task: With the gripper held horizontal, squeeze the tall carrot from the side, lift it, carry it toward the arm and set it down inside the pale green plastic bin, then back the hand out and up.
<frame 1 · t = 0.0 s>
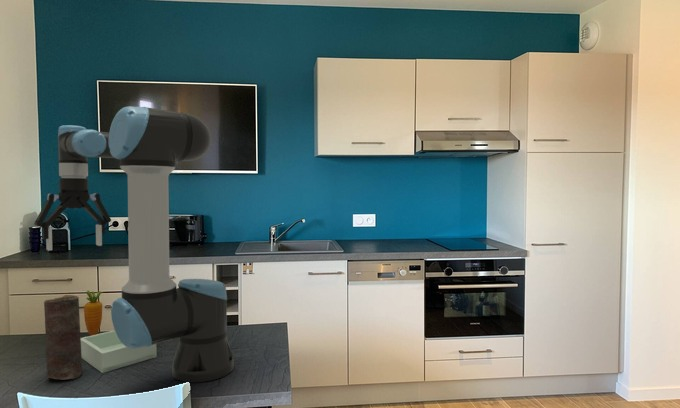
hand: (75, 247, 134), 28 cm above the table, tool pointing down, fingers open, 13 cm apart
bin: (117, 356, 121), on the table
candle: (64, 377, 109), on the table
carrot: (93, 339, 135), on the table
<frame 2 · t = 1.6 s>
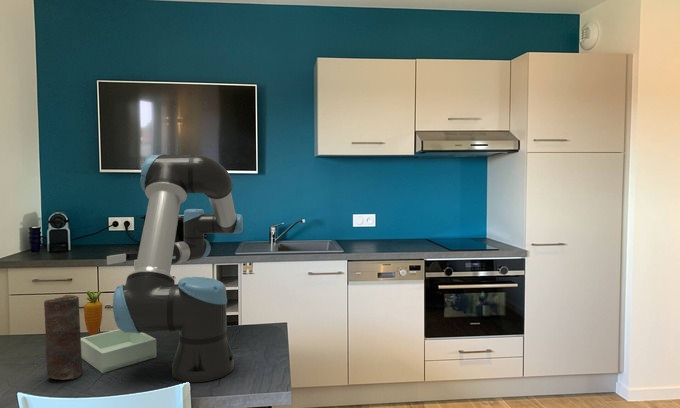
hand: (120, 262, 143), 22 cm above the table, tool horizontal, fingers open, 13 cm apart
nothing on the table moved.
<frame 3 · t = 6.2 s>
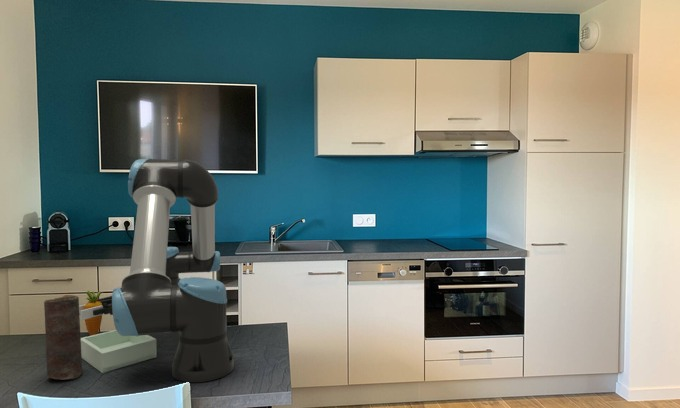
hand: (75, 314, 130), 9 cm above the table, tool horizontal, fingers closed on carrot, 5 cm apart
carrot: (93, 339, 135), on the table, touching gripper
everything else where it was.
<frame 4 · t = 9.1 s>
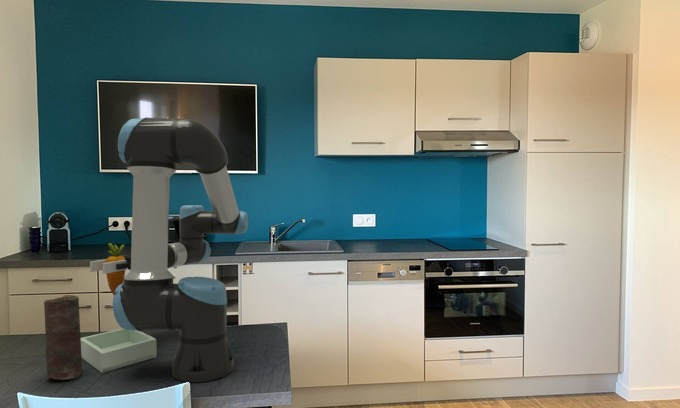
hand: (97, 267, 118), 25 cm above the table, tool horizontal, fingers closed on carrot, 5 cm apart
carrot: (116, 297, 123), point 16 cm above the table, touching gripper
everything else where it was.
when the fingers open (11 cm above the table, at t = 12.2 s): carrot drops 1 cm, resting on bin.
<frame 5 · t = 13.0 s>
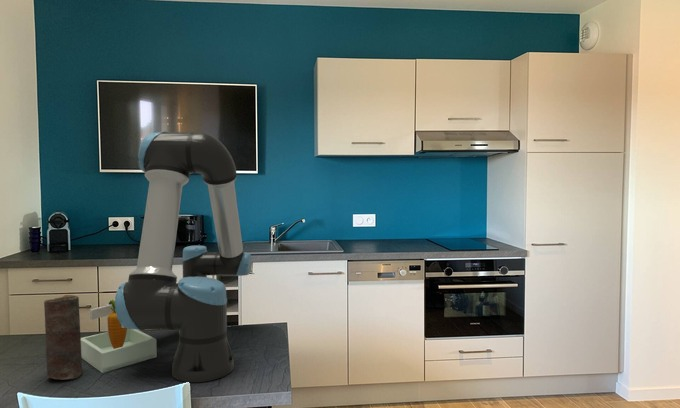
hand: (105, 318, 118), 12 cm above the table, tool horizontal, fingers open, 13 cm apart
carrot: (118, 353, 122), point 1 cm above the table, touching bin
everything else where it was.
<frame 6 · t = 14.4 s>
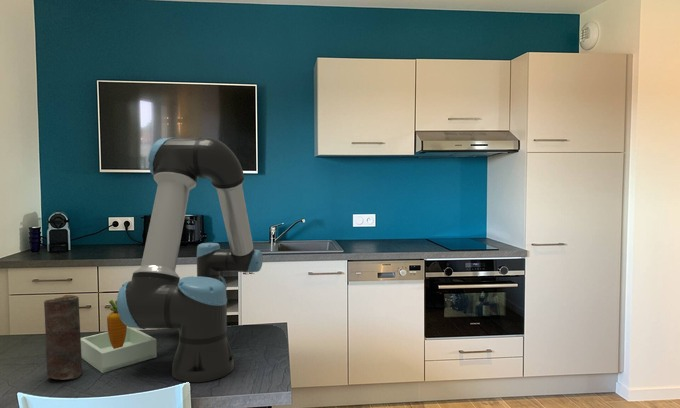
hand: (127, 311, 124), 12 cm above the table, tool horizontal, fingers open, 13 cm apart
nothing on the table moved.
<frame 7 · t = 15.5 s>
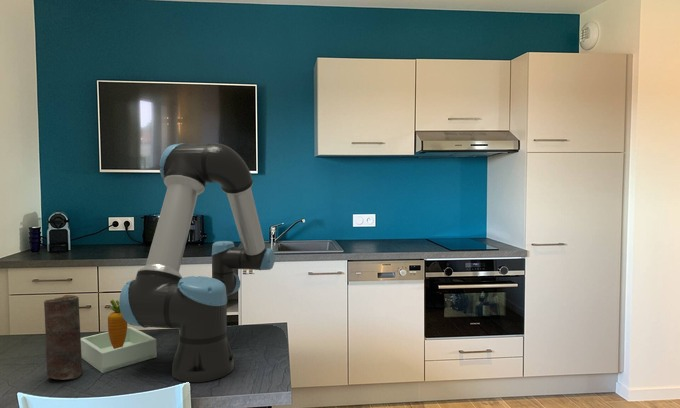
hand: (147, 306, 129), 12 cm above the table, tool horizontal, fingers open, 13 cm apart
nothing on the table moved.
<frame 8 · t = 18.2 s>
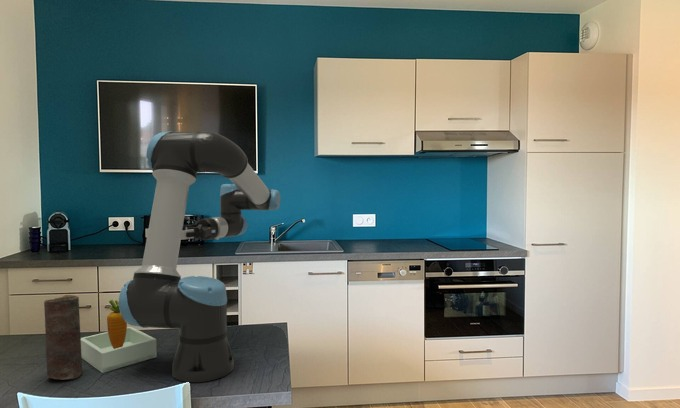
hand: (160, 234, 136), 32 cm above the table, tool horizontal, fingers open, 13 cm apart
nothing on the table moved.
at the end: carrot inside the target area on the bin (0.1 cm from its centre), point 0.8 cm above the bin's base; the gripper is holding nothing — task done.
